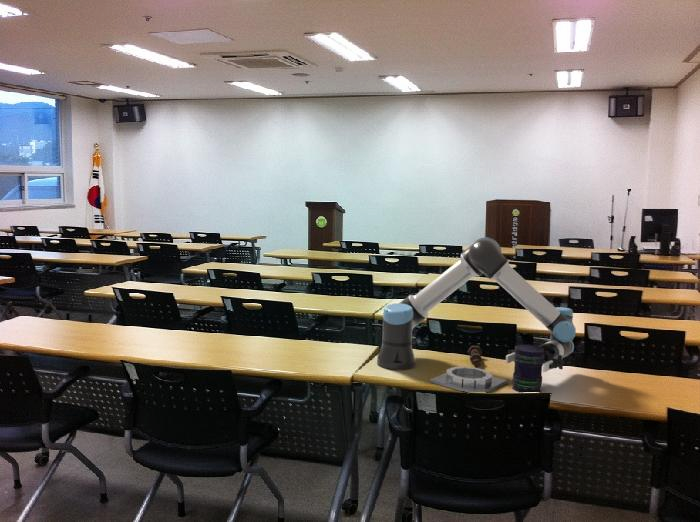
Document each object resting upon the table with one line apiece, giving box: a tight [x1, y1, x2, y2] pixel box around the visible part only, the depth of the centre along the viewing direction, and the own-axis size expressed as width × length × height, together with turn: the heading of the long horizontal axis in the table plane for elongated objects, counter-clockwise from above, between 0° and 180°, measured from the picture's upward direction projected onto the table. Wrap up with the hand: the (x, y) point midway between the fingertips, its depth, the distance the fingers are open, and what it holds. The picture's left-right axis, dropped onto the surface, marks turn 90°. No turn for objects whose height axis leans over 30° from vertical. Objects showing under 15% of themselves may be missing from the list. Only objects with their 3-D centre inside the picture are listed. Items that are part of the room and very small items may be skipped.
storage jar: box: [512, 344, 544, 393], centre depth 200 cm, size 10×10×15 cm
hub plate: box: [429, 366, 508, 393], centre depth 206 cm, size 20×20×4 cm
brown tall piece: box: [467, 345, 483, 367], centre depth 233 cm, size 6×5×15 cm
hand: (524, 363), depth 197 cm, fingers open, 13 cm apart
